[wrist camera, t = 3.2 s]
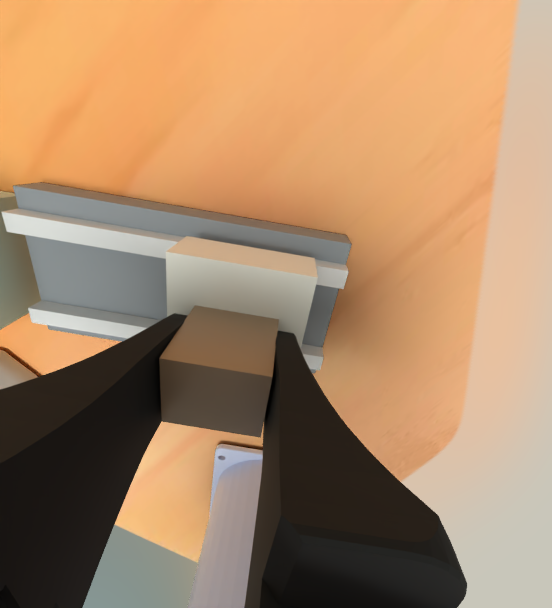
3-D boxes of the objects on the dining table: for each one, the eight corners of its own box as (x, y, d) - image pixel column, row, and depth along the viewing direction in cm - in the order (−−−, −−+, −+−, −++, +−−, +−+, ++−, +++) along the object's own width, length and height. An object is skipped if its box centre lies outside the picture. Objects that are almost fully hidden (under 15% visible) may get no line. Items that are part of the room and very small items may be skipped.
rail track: (313, 355, 17) (315, 384, 15) (68, 315, 16) (36, 337, 14) (346, 235, 13) (355, 249, 11) (41, 182, 13) (-6, 187, 11)
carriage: (287, 375, 14) (283, 478, 10) (185, 358, 14) (133, 454, 10) (314, 257, 11) (325, 325, 7) (186, 235, 11) (114, 290, 7)
